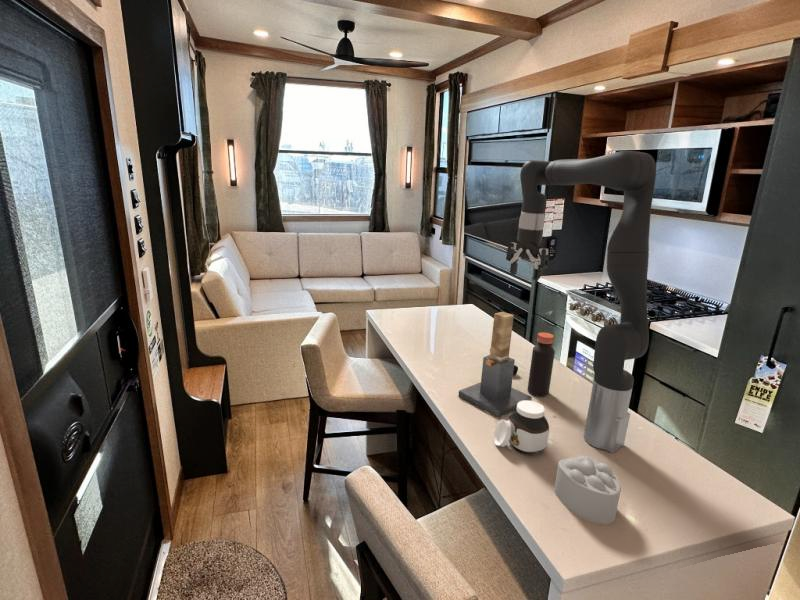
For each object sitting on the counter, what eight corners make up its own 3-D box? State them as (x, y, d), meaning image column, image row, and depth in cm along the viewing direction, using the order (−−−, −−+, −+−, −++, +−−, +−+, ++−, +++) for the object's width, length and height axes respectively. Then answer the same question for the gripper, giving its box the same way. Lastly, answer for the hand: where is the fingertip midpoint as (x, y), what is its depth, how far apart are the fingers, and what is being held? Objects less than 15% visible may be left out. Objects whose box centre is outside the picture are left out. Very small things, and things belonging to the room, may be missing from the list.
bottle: (523, 391, 147) (530, 334, 142) (533, 385, 152) (541, 329, 146) (542, 399, 143) (550, 340, 137) (552, 392, 147) (560, 335, 142)
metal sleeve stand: (531, 402, 140) (536, 361, 136) (498, 418, 130) (503, 374, 126) (491, 383, 152) (495, 344, 148) (458, 396, 142) (461, 355, 138)
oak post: (506, 376, 139) (513, 315, 133) (498, 379, 136) (505, 317, 131) (496, 371, 142) (502, 311, 136) (487, 375, 139) (494, 313, 134)
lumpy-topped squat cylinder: (583, 479, 105) (589, 447, 103) (628, 518, 94) (636, 483, 91) (547, 488, 102) (552, 455, 99) (589, 530, 90) (596, 494, 88)
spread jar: (550, 453, 115) (556, 412, 112) (517, 465, 109) (523, 423, 106) (517, 429, 125) (522, 392, 122) (485, 440, 119) (490, 400, 116)
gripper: (557, 229, 138) (550, 280, 143) (519, 223, 148) (513, 271, 153) (544, 231, 133) (536, 283, 138) (505, 224, 144) (499, 274, 148)
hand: (524, 277), depth 146 cm, fingers open, 8 cm apart
